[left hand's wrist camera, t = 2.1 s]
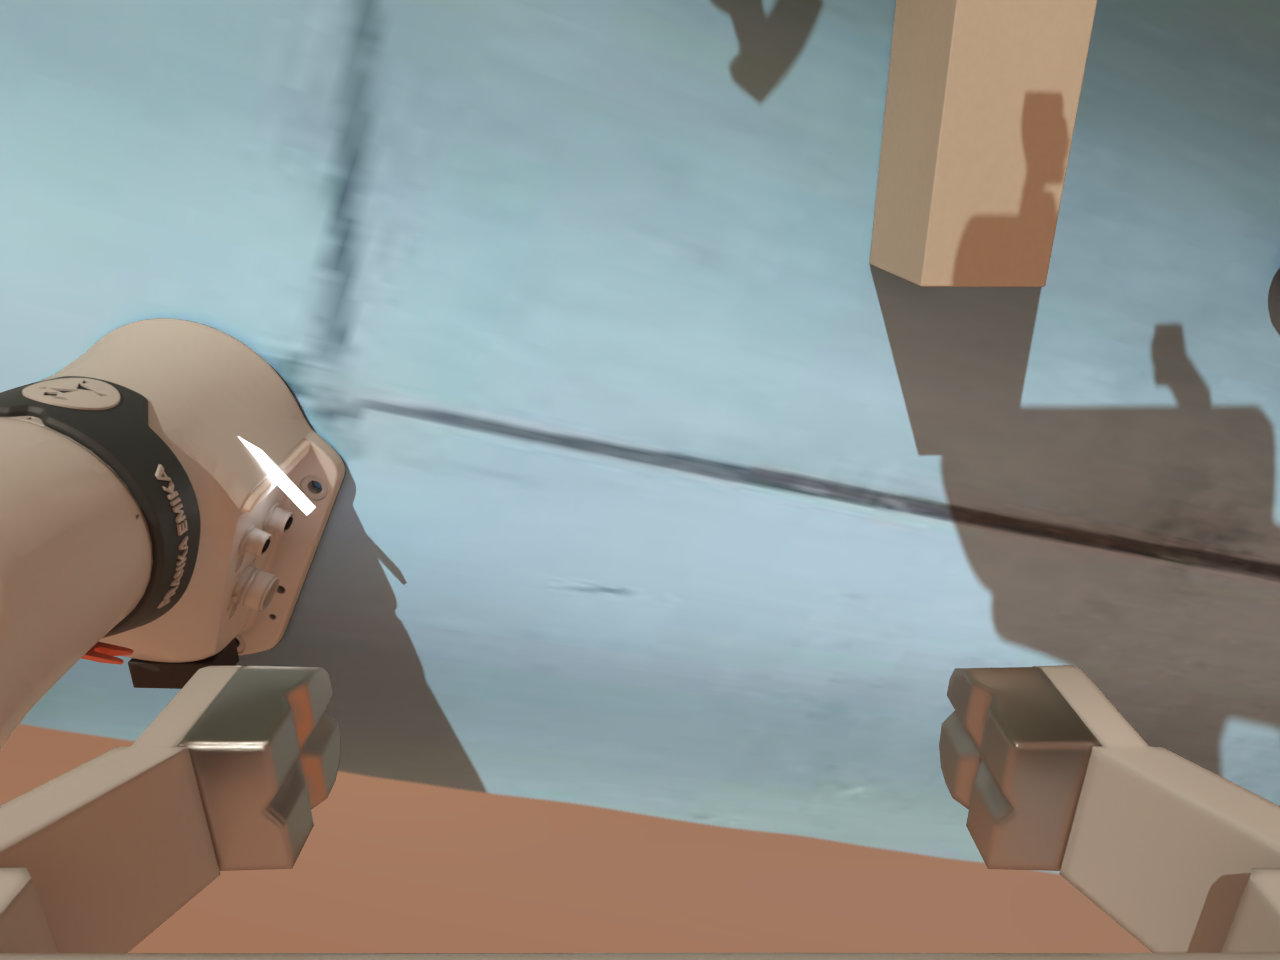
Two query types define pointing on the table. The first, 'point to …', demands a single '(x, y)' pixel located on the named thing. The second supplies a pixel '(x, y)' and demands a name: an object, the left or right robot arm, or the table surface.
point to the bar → (977, 138)
